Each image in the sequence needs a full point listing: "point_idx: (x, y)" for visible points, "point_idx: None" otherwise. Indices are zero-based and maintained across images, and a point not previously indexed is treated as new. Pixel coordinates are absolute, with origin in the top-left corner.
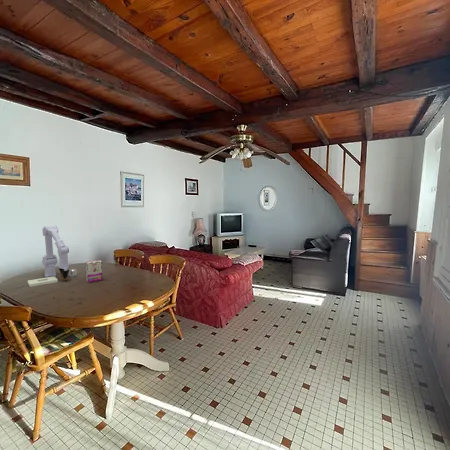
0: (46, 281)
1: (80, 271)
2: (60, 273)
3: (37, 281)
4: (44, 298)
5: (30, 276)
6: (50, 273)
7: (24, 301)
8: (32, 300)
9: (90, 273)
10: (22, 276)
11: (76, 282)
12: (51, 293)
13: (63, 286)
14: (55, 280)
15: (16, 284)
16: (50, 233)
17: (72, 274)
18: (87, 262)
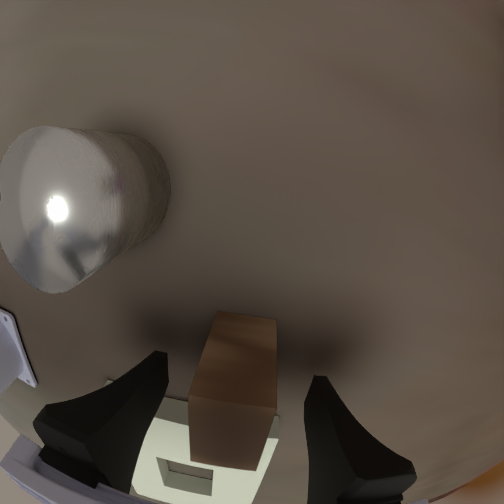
0: (257, 483)
1: (7, 66)
2: (219, 465)
3: (203, 495)
4: (488, 454)
5: (9, 403)
6: (10, 371)
7: (440, 492)
8: (460, 478)
9: None
10: (5, 414)
11: (477, 284)
12: (476, 443)
13: (456, 399)
14: (274, 446)
15: (141, 495)
16: None
17: (144, 224)
18: None
